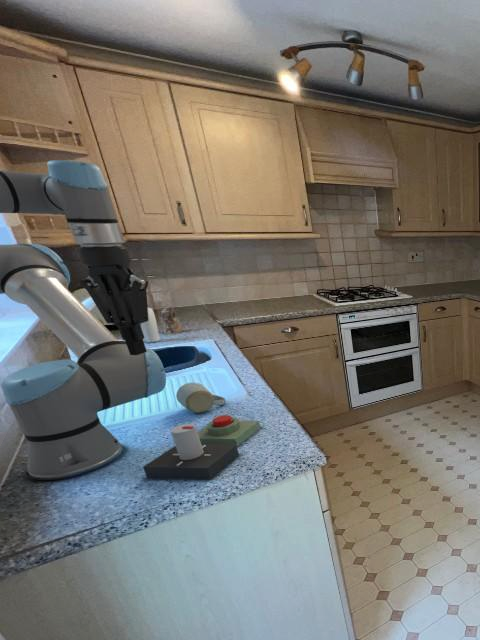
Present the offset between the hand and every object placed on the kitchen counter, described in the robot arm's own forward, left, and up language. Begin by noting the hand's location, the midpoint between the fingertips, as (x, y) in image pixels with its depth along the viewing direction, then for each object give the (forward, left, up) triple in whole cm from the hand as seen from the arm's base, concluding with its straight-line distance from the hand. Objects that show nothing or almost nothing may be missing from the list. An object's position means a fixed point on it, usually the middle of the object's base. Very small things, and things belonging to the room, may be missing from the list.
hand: (138, 353), depth 93 cm
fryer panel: (+13, -9, -24) cm, 29 cm away
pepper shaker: (-98, +85, -24) cm, 132 cm away
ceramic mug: (-7, +22, -25) cm, 34 cm away
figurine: (-84, +108, -25) cm, 139 cm away
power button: (+11, +5, -21) cm, 24 cm away
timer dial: (+13, -9, -21) cm, 27 cm away
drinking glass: (-80, +91, -25) cm, 124 cm away
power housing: (+11, +5, -24) cm, 27 cm away
